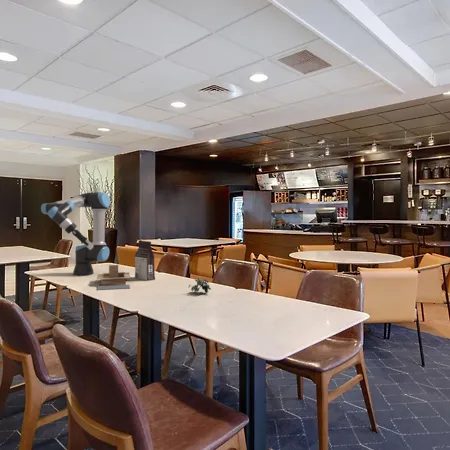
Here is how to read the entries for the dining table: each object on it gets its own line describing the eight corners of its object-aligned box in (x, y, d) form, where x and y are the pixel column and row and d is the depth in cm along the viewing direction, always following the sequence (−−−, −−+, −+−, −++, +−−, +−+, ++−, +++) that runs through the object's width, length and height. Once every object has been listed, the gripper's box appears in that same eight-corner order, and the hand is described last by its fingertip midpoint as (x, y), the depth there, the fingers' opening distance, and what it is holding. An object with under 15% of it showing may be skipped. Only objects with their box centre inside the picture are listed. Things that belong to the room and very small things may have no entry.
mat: (97, 286, 243) (97, 286, 243) (129, 285, 249) (129, 284, 249) (97, 290, 232) (97, 289, 232) (130, 288, 238) (130, 287, 238)
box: (109, 282, 261) (109, 265, 260) (118, 281, 262) (118, 264, 262) (109, 283, 255) (109, 266, 255) (118, 283, 257) (118, 265, 256)
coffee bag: (156, 279, 272) (156, 241, 271) (146, 281, 266) (146, 241, 265) (143, 276, 284) (143, 240, 283) (133, 278, 277) (133, 240, 276)
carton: (98, 280, 268) (98, 273, 268) (128, 278, 274) (128, 272, 274) (96, 286, 243) (96, 279, 243) (130, 285, 250) (130, 277, 249)
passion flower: (205, 301, 226) (215, 287, 223) (192, 301, 219) (202, 286, 215) (197, 288, 234) (206, 274, 230) (184, 288, 226) (193, 273, 222)
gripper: (66, 229, 260) (88, 250, 265) (62, 230, 236) (87, 253, 241) (74, 221, 262) (96, 242, 267) (71, 222, 238) (95, 245, 243)
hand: (92, 247), depth 254 cm, fingers open, 13 cm apart
